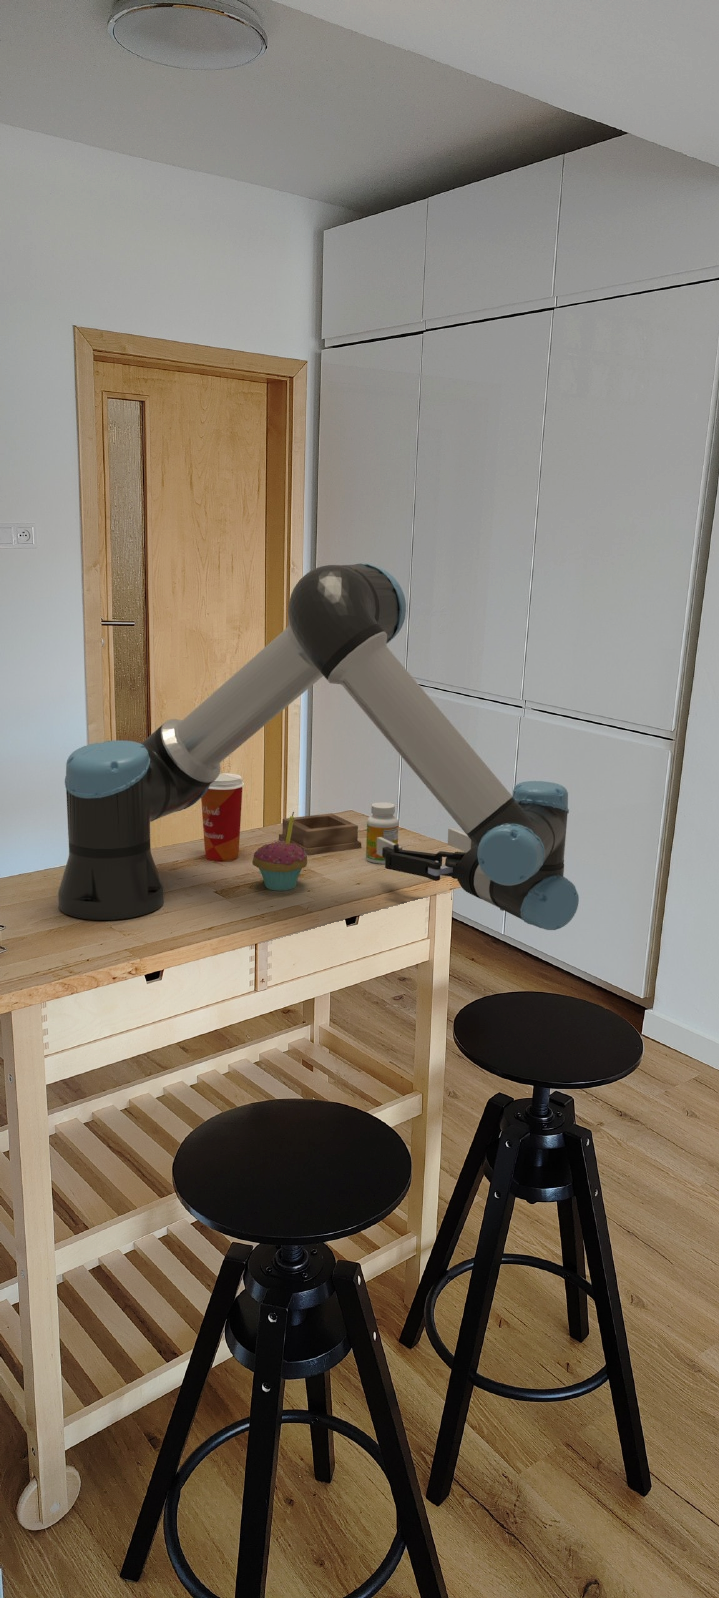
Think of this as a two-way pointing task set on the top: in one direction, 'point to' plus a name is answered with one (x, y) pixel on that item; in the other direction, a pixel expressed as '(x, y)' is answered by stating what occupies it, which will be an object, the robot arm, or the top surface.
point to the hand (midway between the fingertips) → (414, 840)
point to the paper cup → (222, 817)
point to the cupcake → (280, 862)
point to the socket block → (322, 833)
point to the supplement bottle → (380, 829)
